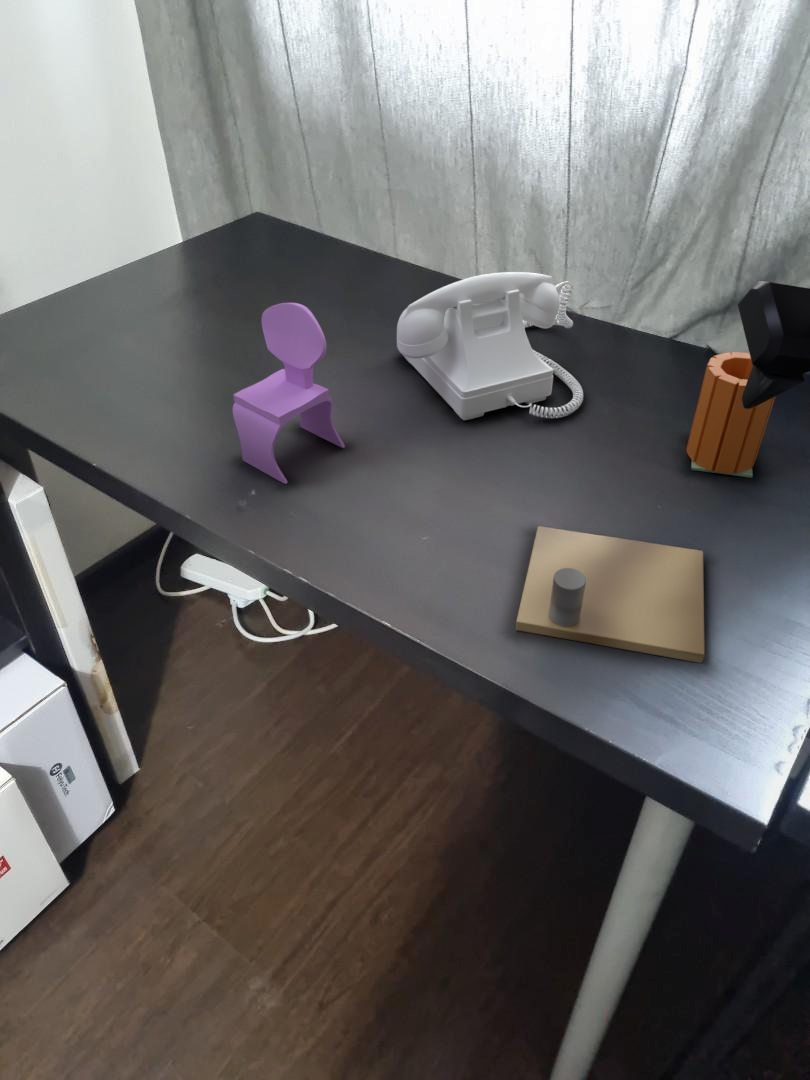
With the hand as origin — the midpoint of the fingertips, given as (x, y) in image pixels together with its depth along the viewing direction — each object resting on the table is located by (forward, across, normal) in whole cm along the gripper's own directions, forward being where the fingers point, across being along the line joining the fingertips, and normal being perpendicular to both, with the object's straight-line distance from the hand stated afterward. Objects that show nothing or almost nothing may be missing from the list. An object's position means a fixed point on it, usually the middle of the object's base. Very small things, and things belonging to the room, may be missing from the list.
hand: (797, 410), depth 64 cm
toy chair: (+26, +37, -7) cm, 46 cm away
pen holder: (+16, -4, -6) cm, 17 cm away
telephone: (+27, +14, -21) cm, 37 cm away
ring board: (+12, +12, +12) cm, 20 cm away
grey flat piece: (+16, -4, -6) cm, 18 cm away
